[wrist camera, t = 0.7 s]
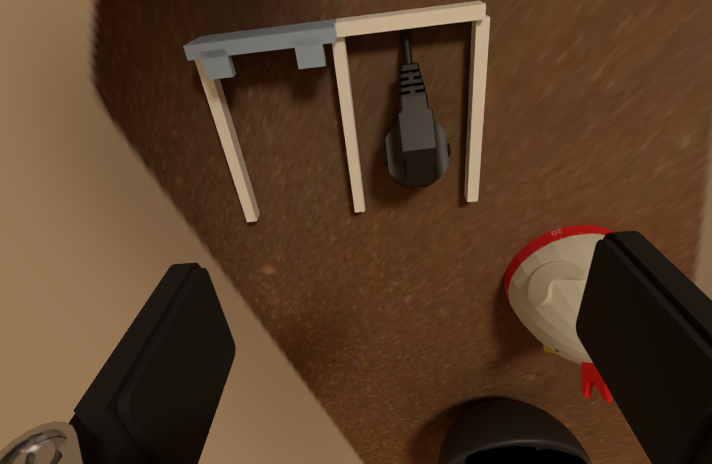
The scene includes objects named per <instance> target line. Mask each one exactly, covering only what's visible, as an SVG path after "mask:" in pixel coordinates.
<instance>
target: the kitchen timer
mask: <svg viewBox="0 0 712 464" xmlns="http://www.w3.org/2000/svg"><path fill="white" fill-rule="evenodd" d="M610 232H613V231H611V230H609V229H606V228H604V227H600V226H591V225H578V226H569V227H564V228H561V229H558V230H555V231H552V232H549V233H546V234H544V235H542V236H541V237H539V238H537V239H535V240H534V241H532V242H530V243H529V244H528V245H526V246H525V247H524V248H523V249H522V250H521V251H520V252H519V253H518V254H517V255H516V256H515V257H514V259H513V260H512V262H511V263H510V265H509V267H508V268H507V271H506V275H505V279H504V286H505V293H506V296H507V298H508V301H509V303H510V305H511V306H512V308H513V310H514V311H515V313H516V315H517V316H518V318H519V319H520V321H521V322H522V323H523V324H524V325H525V326H526V328H527V329H528V330H529V331H530V332H531V333H532V334H533V335H534V336H535V337H536V338H537V339H538V340H539V341H540V342H542V343H543V347H544V350H545V351H547V352H551V353H554V354H558V355H560V356H561V357H563V358H565V359H567V360H569V361H571V362H575V363H578V364H581V385H582V392H583V395H584V396H585V397H587V398H588V399H590V397H591V392H592V388H593V386H594V385H596V387H597V389H598V391H599V392H600V394H601V396H602V397H603V399H604V400H605V401H607V402H608V403H610V404H612V398H611V393H610V391H609V390H608V388H607V386H606V384H605V383H604V381H603V379H602V378H601V376H600V374H599V372H598V371H597V369H596V367H595V366H594V364H593V362H592V360H591V359H590V357H589V355H588V354H587V352H586V350H585V349H584V347H583V345H582V343H581V342H580V340H579V338H578V336H577V333H576V320H577V316H578V312H579V308H580V304H581V300H582V297H583V293H584V289H585V285H586V281H587V277H588V273H589V269H590V265H591V261H592V257H593V253H594V249H595V245H596V243H597V241H598V240H600V239H603V238H604V236H605V235H606V234H607V233H610Z"/></svg>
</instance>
